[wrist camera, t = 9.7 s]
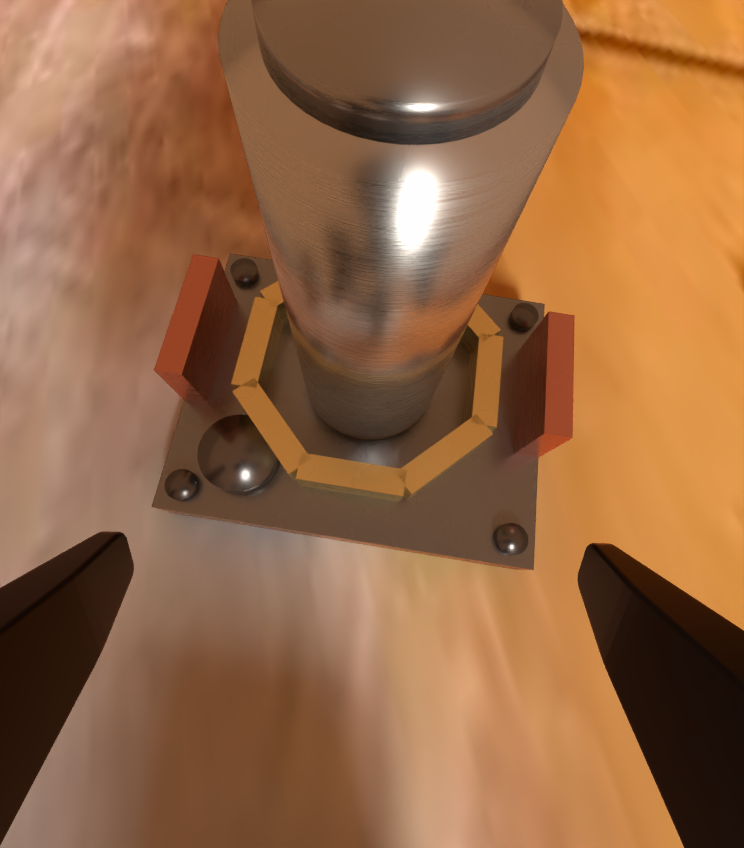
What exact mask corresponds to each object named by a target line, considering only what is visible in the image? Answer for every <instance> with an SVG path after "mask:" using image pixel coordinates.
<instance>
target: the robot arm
mask: <svg viewBox="0 0 744 848" xmlns="http://www.w3.org/2000/svg"><path fill="white" fill-rule="evenodd" d="M133 571H134V564H133V560H132V556H131V552H130V549H129V545H128V541H127V538H126V536H125V535H124V534H123V533H121V532H99V533H97V534H95V535H93V536H92V537H90V538H88V539H86V540H85V541H83V542H81V543H79V544H77V545H76V546H74V547H72V548H70V549H69V550H67V551H65V552H63V553H61V554H60V555H58V556H56V557H54V558H53V559H51V560H49V561H47V562H45V563H44V564H42V565H40V566H38V567H37V568H35V569H33V570H31V571H29V572H28V573H26V574H24V575H22V576H21V577H19V578H17V579H15V580H13V581H12V582H10V583H8V584H6V585H5V586H3V587H1V588H0V845H1V843H2V841H3V839H4V837H5V835H6V833H7V832H8V830H9V828H10V826H11V824H12V822H13V820H14V818H15V816H16V814H17V813H18V811H19V809H20V807H21V805H22V803H23V801H24V799H25V797H26V795H27V794H28V792H29V790H30V788H31V786H32V784H33V782H34V780H35V778H36V776H37V775H38V773H39V771H40V769H41V767H42V765H43V763H44V761H45V759H46V757H47V756H48V754H49V752H50V750H51V748H52V746H53V744H54V742H55V740H56V738H57V736H58V735H59V733H60V731H61V729H62V727H63V725H64V723H65V721H66V719H67V717H68V716H69V714H70V712H71V710H72V708H73V706H74V704H75V702H76V700H77V698H78V697H79V695H80V693H81V691H82V689H83V687H84V685H85V683H86V681H87V679H88V678H89V676H90V674H91V672H92V670H93V668H94V666H95V664H96V662H97V660H98V658H99V656H100V654H101V652H102V650H103V647H104V645H105V643H106V640H107V638H108V636H109V633H110V631H111V628H112V626H113V623H114V621H115V618H116V616H117V613H118V611H119V608H120V606H121V603H122V601H123V599H124V596H125V594H126V591H127V589H128V586H129V584H130V581H131V579H132V576H133ZM578 586H579V590H580V593H581V596H582V599H583V602H584V605H585V608H586V611H587V614H588V617H589V620H590V624H591V627H592V630H593V633H594V636H595V639H596V642H597V645H598V648H599V651H600V654H601V657H602V660H603V663H604V665H605V668H606V670H607V672H608V675H609V677H610V679H611V682H612V684H613V686H614V689H615V691H616V693H617V695H618V698H619V700H620V702H621V705H622V707H623V709H624V711H625V714H626V716H627V718H628V721H629V723H630V725H631V727H632V730H633V732H634V734H635V737H636V739H637V741H638V743H639V746H640V748H641V750H642V752H643V755H644V757H645V759H646V762H647V764H648V766H649V768H650V771H651V773H652V775H653V778H654V780H655V782H656V784H657V787H658V789H659V791H660V794H661V796H662V798H663V800H664V803H665V805H666V807H667V810H668V812H669V814H670V816H671V819H672V821H673V823H674V825H675V828H676V830H677V832H678V835H679V837H680V839H681V841H682V844H683V846H684V848H744V630H742V629H741V628H739V627H738V626H736V625H734V624H733V623H731V622H730V621H728V620H727V619H725V618H724V617H722V616H721V615H719V614H718V613H716V612H715V611H713V610H712V609H710V608H709V607H707V606H706V605H704V604H703V603H701V602H699V601H698V600H696V599H695V598H693V597H692V596H690V595H689V594H687V593H686V592H684V591H683V590H681V589H680V588H678V587H677V586H675V585H674V584H672V583H671V582H669V581H668V580H666V579H664V578H663V577H661V576H660V575H658V574H657V573H655V572H654V571H652V570H651V569H649V568H648V567H646V566H645V565H643V564H642V563H640V562H639V561H637V560H636V559H634V558H632V557H631V556H629V555H628V554H626V553H625V552H623V551H622V550H620V549H619V548H617V547H616V546H614V545H612V544H608V543H592V544H589V545H588V546H587V548H586V550H585V553H584V557H583V560H582V563H581V566H580V569H579V572H578Z"/></svg>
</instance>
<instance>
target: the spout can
mask: <svg viewBox="0 0 744 848" xmlns="http://www.w3.org/2000/svg"><path fill="white" fill-rule="evenodd" d="M218 43H219V56H220V60H221V64H222V68H223V72H224V75H225V79H226V83H227V87H228V91H229V94H230V98H231V102H232V106H233V110H234V114H235V117H236V121H237V125H238V129H239V133H240V137H241V140H242V144H243V148H244V152H245V156H246V160H247V163H248V167H249V171H250V175H251V179H252V182H253V186H254V190H255V194H256V198H257V202H258V205H259V209H260V213H261V217H262V221H263V225H264V228H265V232H266V236H267V240H268V244H269V248H270V251H271V255H272V259H273V263H274V267H275V270H276V274H277V278H278V282H279V286H280V290H281V293H282V297H283V301H284V305H285V309H286V313H287V316H288V320H289V324H290V328H291V332H292V335H293V339H294V343H295V347H296V351H297V355H298V358H299V362H300V366H301V370H302V374H303V378H304V381H305V385H306V389H307V393H308V397H309V399H310V402H311V404H312V406H313V407H314V409H315V411H316V412H317V413H318V415H319V416H320V417H321V418H322V419H323V420H324V421H325V422H326V423H327V424H328V425H330V426H331V427H332V428H334V429H335V430H337V431H339V432H341V433H343V434H346V435H348V436H351V437H355V438H360V439H382V438H387V437H391V436H394V435H397V434H399V433H401V432H403V431H405V430H407V429H408V428H410V427H411V426H412V425H413V424H415V423H416V422H417V421H418V420H419V419H420V418H421V416H422V415H423V414H424V412H425V411H426V409H427V407H428V406H429V404H430V402H431V400H432V398H433V395H434V393H435V391H436V389H437V387H438V385H439V383H440V381H441V379H442V377H443V375H444V373H445V371H446V368H447V366H448V364H449V362H450V360H451V358H452V356H453V354H454V352H455V350H456V348H457V346H458V344H459V342H460V339H461V337H462V335H463V333H464V331H465V329H466V327H467V325H468V323H469V321H470V319H471V317H472V315H473V312H474V310H475V308H476V306H477V304H478V302H479V300H480V298H481V296H482V294H483V292H484V290H485V288H486V285H487V283H488V281H489V279H490V277H491V275H492V273H493V271H494V269H495V267H496V265H497V263H498V261H499V258H500V256H501V254H502V252H503V250H504V248H505V246H506V244H507V242H508V240H509V238H510V236H511V234H512V232H513V229H514V227H515V225H516V223H517V221H518V219H519V217H520V215H521V213H522V211H523V209H524V207H525V205H526V202H527V200H528V198H529V196H530V194H531V192H532V190H533V188H534V186H535V184H536V182H537V180H538V178H539V175H540V173H541V171H542V169H543V167H544V165H545V163H546V161H547V159H548V157H549V155H550V153H551V151H552V149H553V146H554V144H555V142H556V140H557V138H558V136H559V134H560V132H561V130H562V128H563V126H564V124H565V122H566V119H567V117H568V115H569V113H570V111H571V109H572V107H573V105H574V103H575V101H576V98H577V95H578V92H579V89H580V87H581V83H582V76H583V69H584V63H583V49H582V45H581V41H580V36H579V33H578V31H577V29H576V26H575V24H574V21H573V19H572V17H571V16H570V14H569V13H568V11H567V9H566V8H565V6H564V4H563V3H562V0H228V2H227V3H226V5H225V8H224V11H223V14H222V17H221V20H220V27H219V35H218Z"/></svg>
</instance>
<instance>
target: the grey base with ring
mask: <svg viewBox="0 0 744 848" xmlns="http://www.w3.org/2000/svg"><path fill="white" fill-rule="evenodd" d="M154 371H155V372H156V373H157V374H158V375H160V376H161V377H162V378H163V379H164V380H165V381H166V382H167V383H168V384H169V385H170V386H171V387H172V388H173V389H174V390H175V391H176V392H177V393H178V394H179V395H180V396H181V397H182V398H183V399H184V404H183V407H182V410H181V413H180V417H179V420H178V423H177V426H176V429H175V433H174V436H173V439H172V442H171V446H170V449H169V452H168V455H167V458H166V462H165V465H164V468H163V471H162V475H161V478H160V481H159V484H158V488H157V491H156V494H155V497H154V500H153V504H152V507H154V508H157V509H161V510H164V511H168V512H171V513H177V514H183V515H189V516H195V517H201V518H207V519H213V520H219V521H225V522H231V523H237V524H243V525H250V526H256V527H262V528H268V529H274V530H280V531H286V532H292V533H298V534H304V535H310V536H316V537H322V538H328V539H334V540H340V541H347V542H353V543H359V544H365V545H371V546H377V547H383V548H389V549H395V550H401V551H407V552H413V553H419V554H425V555H431V556H438V557H444V558H450V559H456V560H462V561H468V562H474V563H480V564H486V565H492V566H498V567H504V568H510V569H521V570H534V547H535V523H536V499H537V474H538V457H540V456H542V455H544V454H545V453H547V452H549V451H551V450H552V449H554V448H556V447H558V446H559V445H561V444H563V443H565V442H566V441H568V440H570V439H572V432H573V371H574V315H568V314H562V313H555V312H548V313H547V314H546V316H545V317H544V304H542V303H535V302H529V301H523V300H517V299H510V298H504V297H498V296H492V295H485V294H482V296H481V298H480V300H479V302H478V304H477V306H476V308H475V310H474V312H473V315H472V317H471V319H470V321H469V323H468V325H467V327H466V329H465V331H464V333H463V335H462V337H461V339H460V342H459V344H458V346H457V348H456V350H455V352H454V354H453V356H452V358H451V360H450V362H449V364H448V366H447V368H446V371H445V373H444V375H443V377H442V379H441V381H440V383H439V385H438V387H437V389H436V391H435V393H434V395H433V398H432V400H431V402H430V404H429V406H428V407H427V409H426V411H425V412H424V414H423V415H422V416H421V418H420V419H419V420H418V421H417V422H416V423H415V424H413V425H412V426H411V427H410V428H408V429H407V430H405V431H403V432H401V433H399V434H397V435H394V436H391V437H387V438H382V439H360V438H355V437H351V436H348V435H346V434H343V433H341V432H339V431H337V430H335V429H334V428H332V427H331V426H330V425H328V424H327V423H326V422H325V421H324V420H323V419H322V418H321V417H320V416H319V415H318V413H317V412H316V411H315V409H314V407H313V406H312V404H311V402H310V399H309V397H308V393H307V389H306V385H305V381H304V378H303V374H302V370H301V366H300V362H299V358H298V355H297V351H296V347H295V343H294V339H293V335H292V332H291V328H290V324H289V320H288V316H287V313H286V309H285V305H284V301H283V297H282V293H281V290H280V286H279V282H278V278H277V274H276V270H275V267H274V263H273V260H267V259H261V258H255V257H249V256H242V255H236V254H230V255H229V258H228V262H227V265H226V268H225V271H224V270H223V267H222V265H221V263H220V261H219V258H213V257H207V256H200V255H194V254H193V257H192V260H191V263H190V266H189V268H188V271H187V274H186V277H185V280H184V283H183V286H182V289H181V292H180V295H179V298H178V301H177V304H176V307H175V310H174V313H173V315H172V318H171V321H170V324H169V327H168V330H167V333H166V336H165V339H164V342H163V345H162V348H161V351H160V354H159V357H158V359H157V362H156V365H155V368H154Z"/></svg>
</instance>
